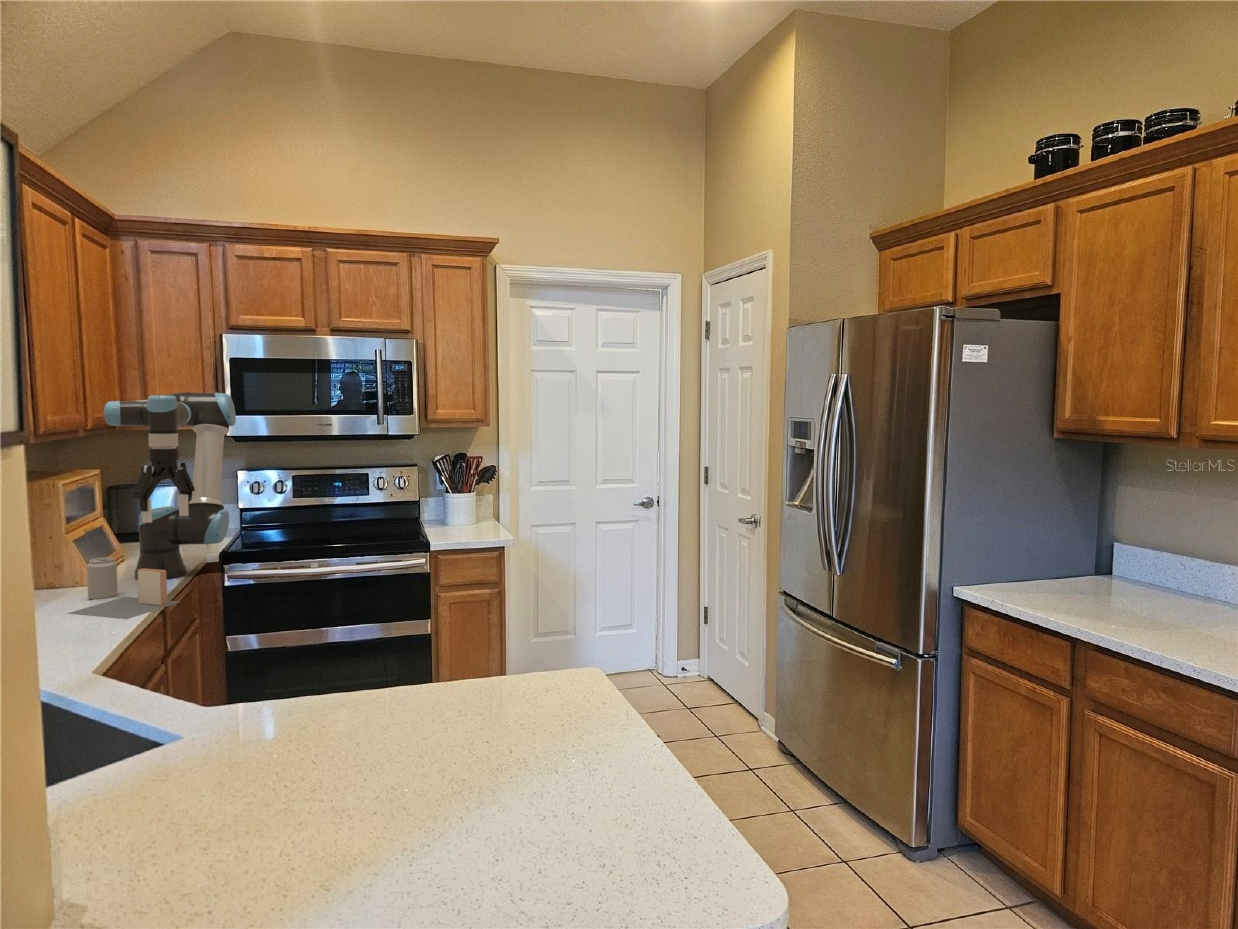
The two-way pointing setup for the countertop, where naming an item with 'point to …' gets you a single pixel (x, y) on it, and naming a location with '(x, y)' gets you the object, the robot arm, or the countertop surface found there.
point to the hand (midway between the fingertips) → (166, 519)
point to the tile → (152, 586)
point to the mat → (120, 608)
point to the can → (102, 578)
